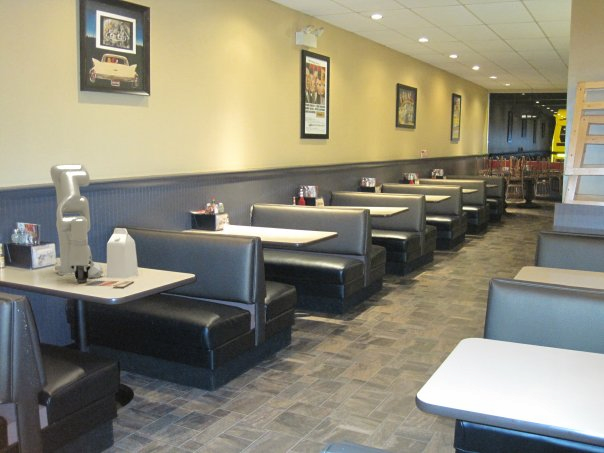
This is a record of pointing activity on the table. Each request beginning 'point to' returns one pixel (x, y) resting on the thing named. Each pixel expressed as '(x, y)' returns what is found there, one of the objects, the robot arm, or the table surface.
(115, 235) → the milk
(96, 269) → the white faceted ball
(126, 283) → the game board
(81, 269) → the pawn
